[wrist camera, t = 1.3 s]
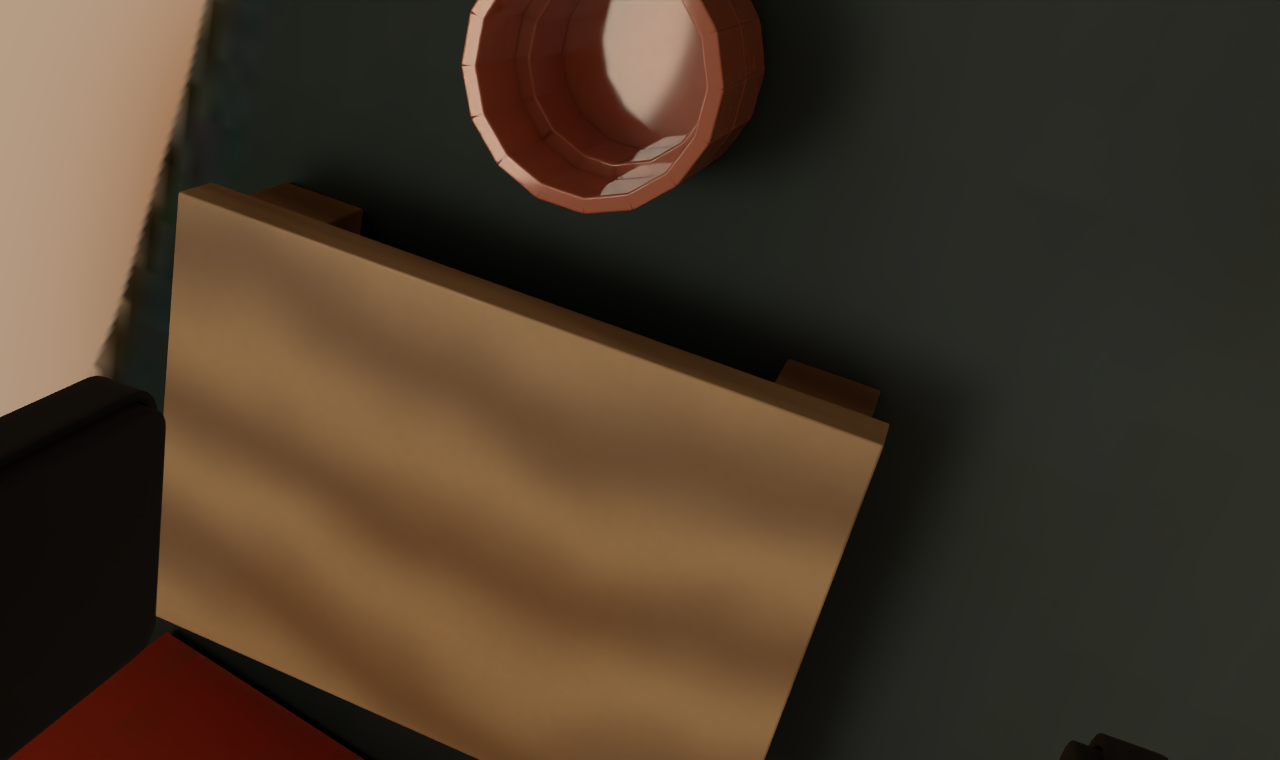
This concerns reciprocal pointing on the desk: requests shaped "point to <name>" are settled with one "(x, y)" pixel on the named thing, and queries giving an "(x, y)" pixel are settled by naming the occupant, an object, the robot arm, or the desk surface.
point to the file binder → (179, 717)
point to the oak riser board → (488, 496)
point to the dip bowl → (610, 92)
